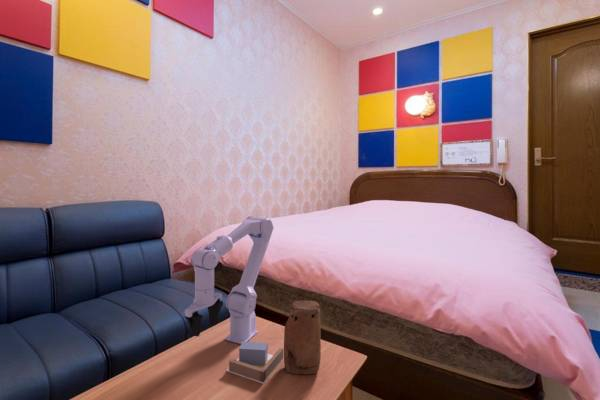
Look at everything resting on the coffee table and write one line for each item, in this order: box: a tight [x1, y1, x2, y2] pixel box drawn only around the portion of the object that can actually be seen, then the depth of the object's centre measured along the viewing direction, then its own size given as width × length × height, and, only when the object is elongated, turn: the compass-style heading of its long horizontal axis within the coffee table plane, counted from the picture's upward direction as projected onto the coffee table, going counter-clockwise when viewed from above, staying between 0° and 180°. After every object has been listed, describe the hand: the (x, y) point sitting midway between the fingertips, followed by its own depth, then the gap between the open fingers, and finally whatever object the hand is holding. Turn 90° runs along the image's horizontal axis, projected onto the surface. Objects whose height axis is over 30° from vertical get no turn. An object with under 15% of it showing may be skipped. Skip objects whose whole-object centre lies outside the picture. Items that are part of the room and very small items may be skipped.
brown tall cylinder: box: [283, 299, 322, 375], centre depth 86 cm, size 11×8×20 cm
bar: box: [238, 341, 269, 366], centre depth 89 cm, size 8×4×5 cm, turn 87°
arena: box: [225, 347, 284, 385], centre depth 88 cm, size 12×13×3 cm
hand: (204, 329), depth 90 cm, fingers open, 7 cm apart
